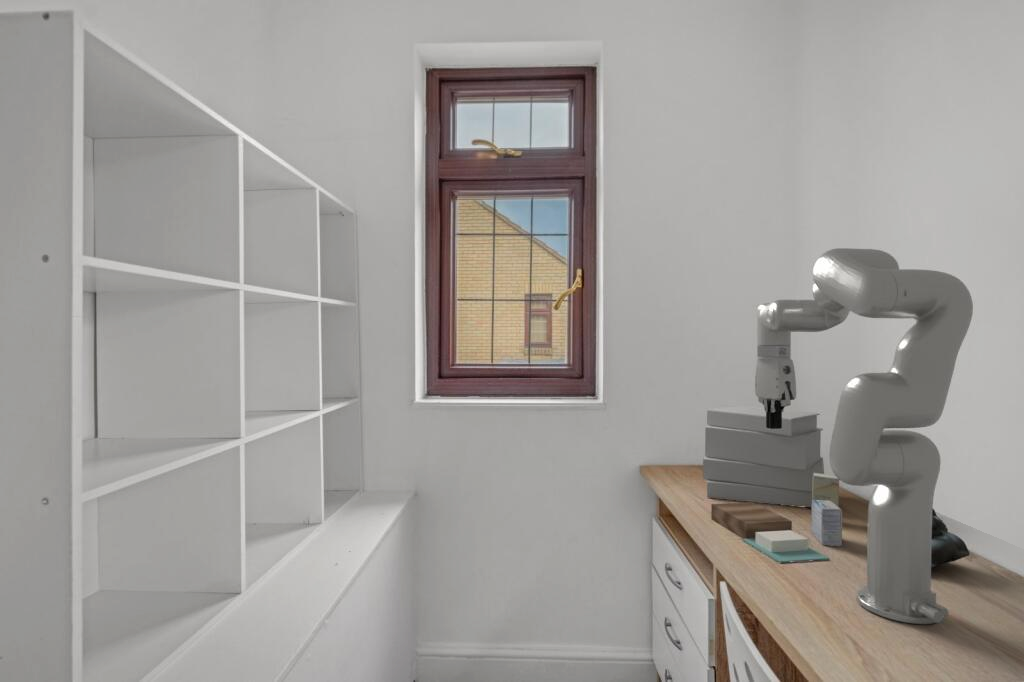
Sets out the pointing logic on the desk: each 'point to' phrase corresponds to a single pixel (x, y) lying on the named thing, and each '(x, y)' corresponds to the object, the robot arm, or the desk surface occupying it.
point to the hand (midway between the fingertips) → (773, 428)
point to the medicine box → (827, 522)
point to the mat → (788, 553)
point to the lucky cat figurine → (945, 544)
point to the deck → (748, 519)
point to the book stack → (761, 456)
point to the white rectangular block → (781, 541)
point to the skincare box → (825, 488)
